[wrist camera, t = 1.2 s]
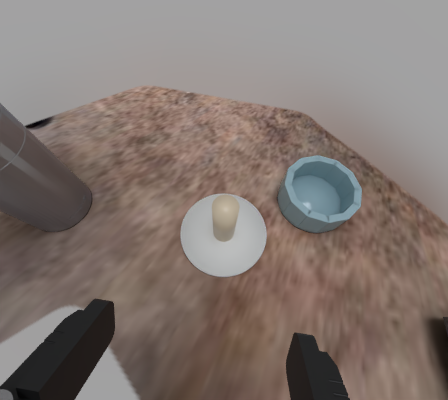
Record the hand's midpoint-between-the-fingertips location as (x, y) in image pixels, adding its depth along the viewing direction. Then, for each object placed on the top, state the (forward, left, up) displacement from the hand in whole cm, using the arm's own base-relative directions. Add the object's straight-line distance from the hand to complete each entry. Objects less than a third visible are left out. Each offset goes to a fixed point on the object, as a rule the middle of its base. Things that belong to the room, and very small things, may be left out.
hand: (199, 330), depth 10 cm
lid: (-2, +11, -22) cm, 25 cm away
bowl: (+10, +21, -22) cm, 32 cm away
